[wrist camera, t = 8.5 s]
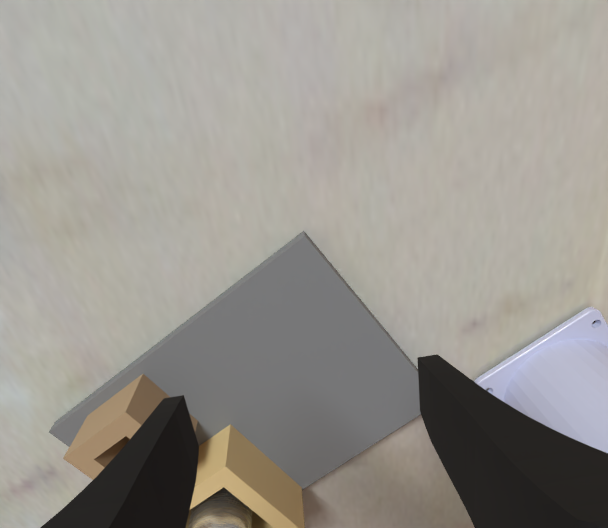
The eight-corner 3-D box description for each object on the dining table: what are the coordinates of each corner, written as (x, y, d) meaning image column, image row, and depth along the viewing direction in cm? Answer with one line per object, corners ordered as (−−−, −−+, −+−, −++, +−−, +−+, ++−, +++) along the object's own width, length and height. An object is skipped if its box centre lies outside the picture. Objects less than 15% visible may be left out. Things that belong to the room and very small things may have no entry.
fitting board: (436, 392, 26) (462, 439, 22) (211, 537, 29) (202, 599, 25) (303, 230, 21) (310, 257, 18) (55, 421, 25) (19, 476, 21)
